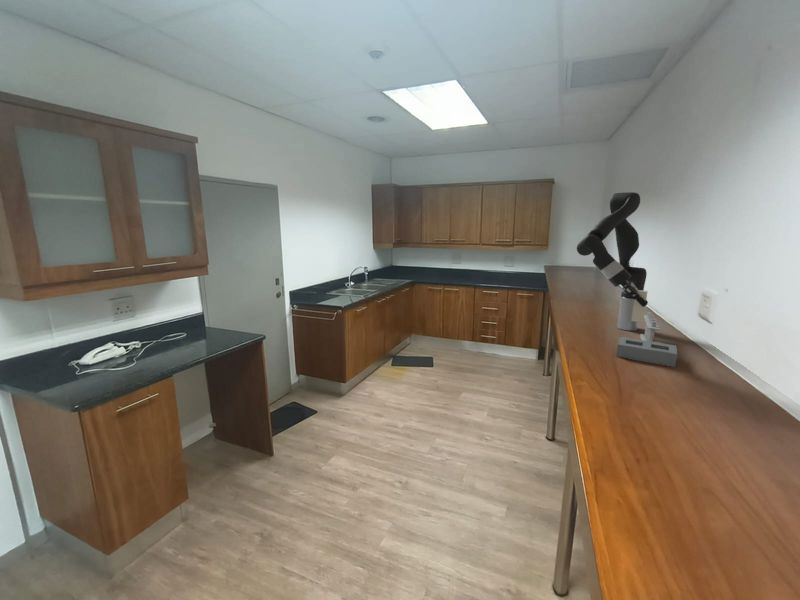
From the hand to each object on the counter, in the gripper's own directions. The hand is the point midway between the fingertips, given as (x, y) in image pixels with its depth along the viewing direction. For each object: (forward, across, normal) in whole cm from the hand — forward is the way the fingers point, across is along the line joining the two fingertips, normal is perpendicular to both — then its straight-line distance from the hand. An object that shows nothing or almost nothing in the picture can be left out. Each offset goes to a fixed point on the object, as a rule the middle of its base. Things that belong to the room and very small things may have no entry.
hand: (645, 304), depth 144 cm
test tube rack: (+19, +21, +14) cm, 32 cm away
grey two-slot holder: (+18, 0, +14) cm, 23 cm away
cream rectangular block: (+4, 0, +7) cm, 8 cm away
